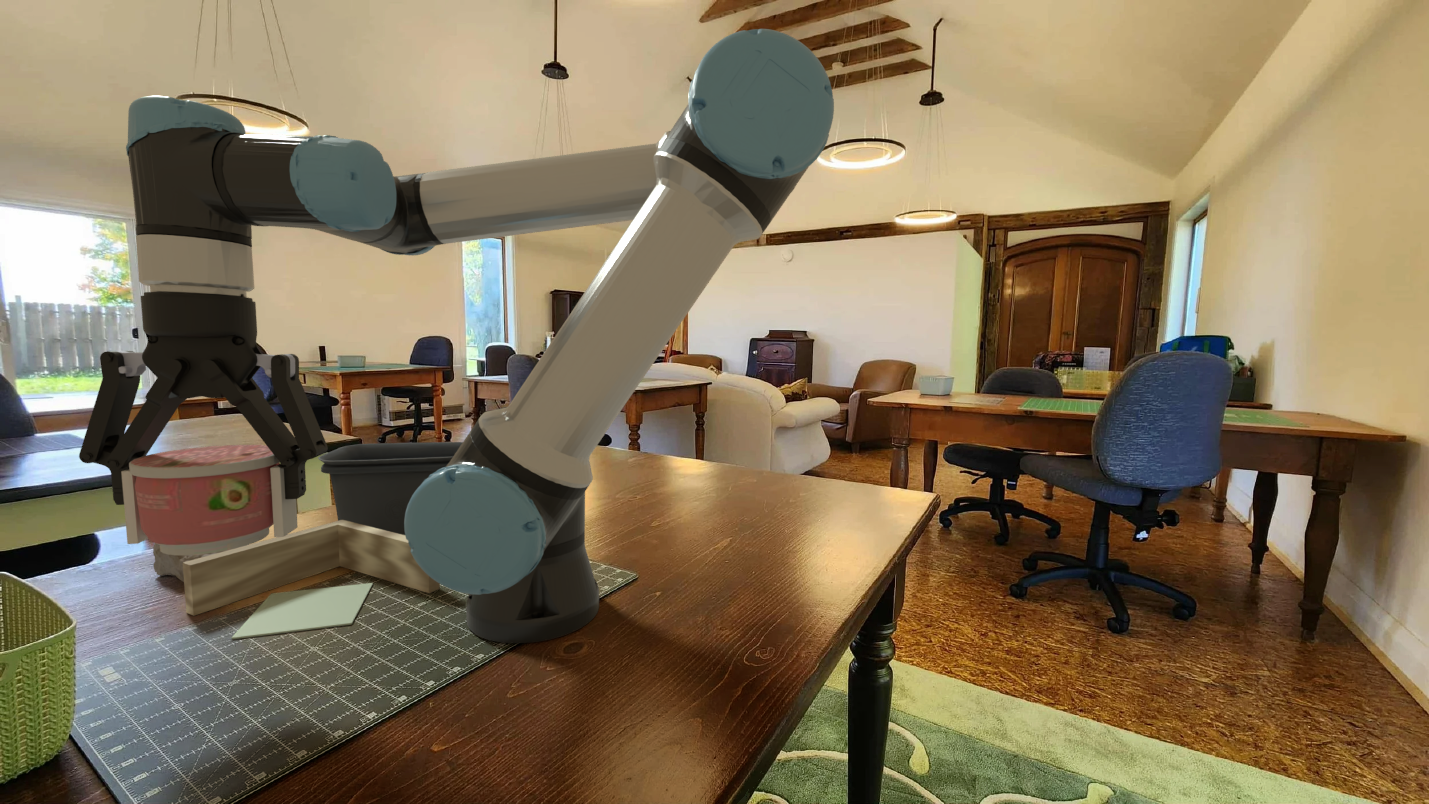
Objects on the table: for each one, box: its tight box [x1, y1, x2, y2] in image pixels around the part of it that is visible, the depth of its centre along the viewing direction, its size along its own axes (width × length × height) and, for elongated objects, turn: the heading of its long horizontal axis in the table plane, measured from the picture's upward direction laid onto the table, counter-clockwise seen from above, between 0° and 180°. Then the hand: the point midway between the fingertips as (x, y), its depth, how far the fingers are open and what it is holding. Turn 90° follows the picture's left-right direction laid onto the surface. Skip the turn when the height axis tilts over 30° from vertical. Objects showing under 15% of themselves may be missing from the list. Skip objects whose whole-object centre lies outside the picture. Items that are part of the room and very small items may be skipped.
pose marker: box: [230, 582, 374, 640], centre depth 67 cm, size 11×11×1 cm
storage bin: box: [317, 441, 463, 535], centre depth 93 cm, size 21×16×14 cm
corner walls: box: [183, 520, 441, 617], centre depth 69 cm, size 20×18×6 cm
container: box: [129, 444, 280, 555], centre depth 52 cm, size 10×10×8 cm
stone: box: [152, 543, 228, 583], centre depth 75 cm, size 8×10×6 cm
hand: (217, 535), depth 52 cm, fingers closed on container, 10 cm apart
